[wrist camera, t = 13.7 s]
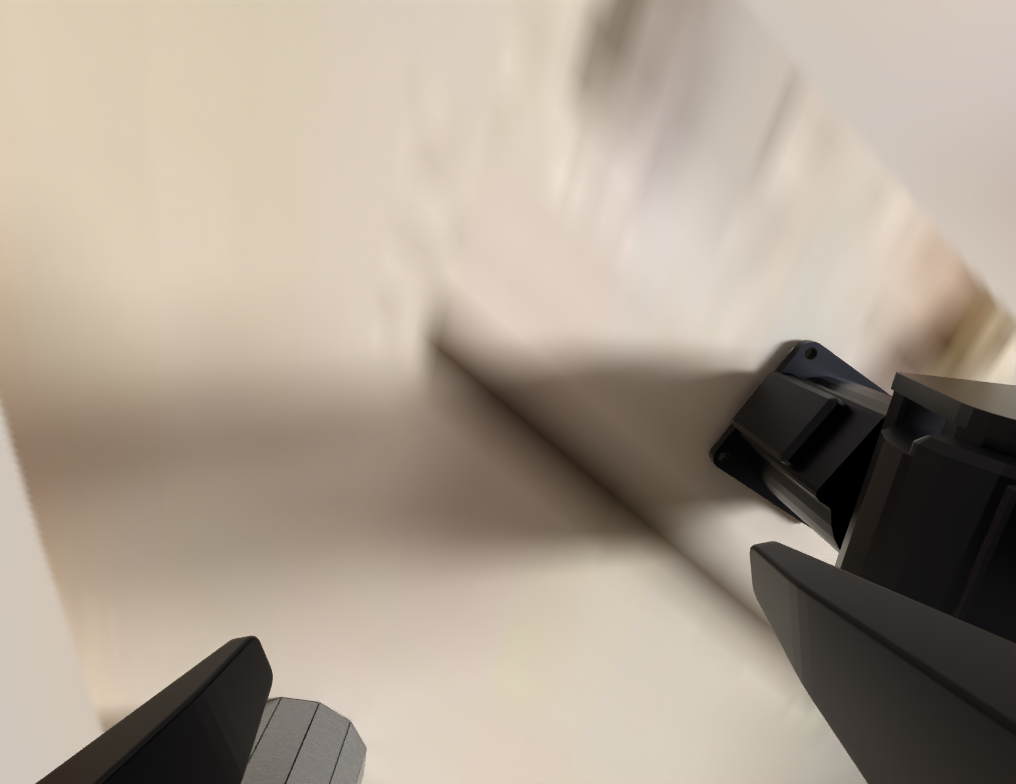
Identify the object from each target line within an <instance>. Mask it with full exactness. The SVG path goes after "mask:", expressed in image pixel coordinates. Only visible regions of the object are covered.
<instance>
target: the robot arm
mask: <svg viewBox="0 0 1016 784" xmlns="http://www.w3.org/2000/svg"><path fill="white" fill-rule="evenodd" d="M809 348H811V354H810V356H808V357H807V358H806V357H805V352H806V350H807V349H809ZM891 389H892V390H894V393H893V396H891V395H889V394H888V393H886V392H885V391H884V390H882V389H881V388H880V387H878V386H877V385H876V384H874V383H873V382H871V381H870V380H869V379H867V378H866V377H865V376H863V375H862V374H860V373H859V372H858V371H856V370H855V369H854V368H852V367H851V366H849V365H848V364H847V363H845V362H844V361H843V360H841V359H840V358H838V357H837V356H836V355H834V354H833V353H832V352H830V351H829V350H828V349H826V348H825V347H823V346H822V345H821V344H819V343H817V342H814V341H810V340H804V341H802V342H800V343H799V344H797V345H796V347H795V348H794V349H793V350H792V351H791V353H790V354H789V355H788V356H787V358H786V359H785V360H784V361H783V362H782V364H781V365H780V366H779V367H778V368H777V370H776V371H775V372H774V373H771V374H769V375H768V377H767V378H766V379H765V380H764V382H763V383H762V384H761V385H760V386H759V388H758V389H757V390H756V391H755V392H754V394H753V395H752V396H751V397H750V399H749V400H748V401H747V402H746V403H745V405H744V406H743V407H742V408H741V410H740V411H739V412H738V413H737V414H736V416H735V417H734V418H733V423H732V425H731V426H730V427H729V428H728V429H727V431H726V432H725V433H724V434H723V436H722V437H721V438H720V439H719V440H718V442H717V443H716V444H715V445H714V446H713V448H712V449H711V451H710V455H709V457H710V460H711V461H712V462H713V463H714V464H715V465H716V466H717V467H718V468H720V469H721V470H723V471H724V472H726V473H727V474H729V475H730V476H732V477H734V478H735V479H737V480H738V481H740V482H741V483H743V484H744V485H746V486H747V487H749V488H750V489H752V490H753V491H755V492H757V493H758V494H760V495H761V496H763V497H764V498H766V499H767V500H769V501H770V502H772V503H773V504H775V505H776V506H778V507H780V508H781V509H783V510H784V511H786V512H787V513H789V514H790V515H792V516H793V517H795V518H796V519H798V520H799V521H801V522H802V523H804V524H806V525H807V526H809V527H810V528H812V529H813V530H814V531H815V532H816V533H817V534H819V535H820V536H821V537H822V538H823V539H824V540H825V541H826V542H828V543H829V544H830V545H831V546H832V547H833V548H834V549H835V550H836V551H838V552H839V555H838V558H837V561H836V564H835V566H833V565H830V564H828V563H825V562H823V561H821V560H818V559H816V558H814V557H811V556H809V555H807V554H804V553H802V552H800V551H797V550H795V549H793V548H790V547H788V546H785V545H783V544H781V543H778V542H775V541H771V542H766V543H760V544H755V545H753V546H752V547H751V548H750V563H751V574H752V585H753V590H754V593H755V596H756V598H757V600H758V602H759V604H760V606H761V608H762V610H763V612H764V614H765V616H766V617H767V619H768V621H769V623H770V625H771V627H772V629H773V631H774V632H775V634H776V636H777V638H778V640H779V642H780V644H781V646H782V647H783V649H784V651H785V653H786V655H787V657H788V659H789V661H790V663H791V664H792V666H793V668H794V670H795V672H796V674H797V675H798V677H799V679H800V681H801V683H802V684H803V686H804V688H805V689H806V691H807V692H808V694H809V695H810V697H811V699H812V700H813V702H814V703H815V705H816V706H817V708H818V709H819V711H820V712H821V714H822V715H823V717H824V718H825V720H826V721H827V723H828V724H829V726H830V727H831V729H832V730H833V732H834V733H835V735H836V736H837V738H838V739H839V741H840V742H841V744H842V745H843V747H844V748H845V750H846V751H847V753H848V754H849V756H850V757H851V759H852V760H853V762H854V763H855V765H856V766H857V768H858V769H859V771H860V772H861V774H862V775H863V777H864V778H865V780H866V781H867V783H868V784H1016V386H1015V385H1006V384H997V383H989V382H980V381H972V380H963V379H954V378H946V377H937V376H929V375H920V374H912V373H903V372H896V375H895V378H894V381H893V384H892V387H891ZM724 452H726V456H725V458H723V459H721V460H719V455H720V454H722V453H724ZM272 680H273V674H272V669H271V667H270V664H269V662H268V659H267V657H266V655H265V652H264V650H263V647H262V645H261V643H260V641H259V639H258V638H257V637H255V636H247V637H241V638H236V639H233V640H230V641H229V642H227V643H226V644H225V645H223V646H222V647H221V648H219V649H218V650H216V651H215V652H214V653H212V654H211V655H210V656H208V657H207V658H206V659H204V660H203V661H202V662H200V663H199V664H197V665H196V666H195V667H193V668H192V669H191V670H189V671H188V672H187V673H185V674H184V675H183V676H181V677H180V678H178V679H177V680H176V681H174V682H173V683H172V684H170V685H169V686H168V687H166V688H165V689H163V690H162V691H161V692H159V693H158V694H157V695H155V696H154V697H153V698H151V699H150V700H149V701H147V702H146V703H144V704H143V705H142V706H140V707H139V708H138V709H136V710H135V711H134V712H132V713H131V714H130V715H128V716H127V717H125V718H124V719H123V720H121V721H120V722H119V723H117V724H116V725H115V726H113V727H112V728H110V729H109V730H108V731H106V732H105V733H104V734H102V735H101V736H100V737H98V738H97V739H96V740H94V741H93V742H91V743H90V744H89V745H87V746H86V747H85V748H83V749H82V750H81V751H79V752H78V753H77V754H75V755H74V756H72V757H71V758H70V759H69V760H67V761H66V762H64V763H63V764H62V765H60V766H59V767H57V768H56V769H55V770H54V771H52V772H51V773H50V774H48V775H47V776H46V777H44V778H43V779H41V780H40V781H38V782H37V783H36V784H241V783H242V780H243V777H244V774H245V771H246V768H247V765H248V762H249V759H250V756H251V752H252V749H253V746H254V742H255V739H256V736H257V733H258V729H259V726H260V723H261V719H262V716H263V713H264V710H265V706H266V703H267V700H268V696H269V693H270V690H271V686H272Z"/></svg>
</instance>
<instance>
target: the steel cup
mask: <svg viewBox="0 0 1016 784" xmlns="http://www.w3.org/2000/svg"><path fill="white" fill-rule="evenodd" d="M365 757H366V747H365V745H364V743H363V741H362V740H361V738H360V736H359V735H358V733H357V731H356V730H355V728H354V726H353V724H352V723H351V722H350V721H349V720H347V719H346V718H344V717H343V716H341V715H339V714H338V713H336V712H334V711H333V710H331V709H329V708H328V707H326V706H324V705H323V704H321V703H320V704H319V702H311V701H303V700H296V699H288V698H282V699H281V698H278V699H275V700H272V701H269V702H267V703H266V706H265V710H264V713H263V716H262V719H261V723H260V726H259V729H258V733H257V736H256V739H255V742H254V746H253V749H252V752H251V756H250V759H249V762H248V765H247V768H246V771H245V774H244V777H243V780H242V783H241V784H361V782H362V778H363V774H364V766H365Z"/></svg>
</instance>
